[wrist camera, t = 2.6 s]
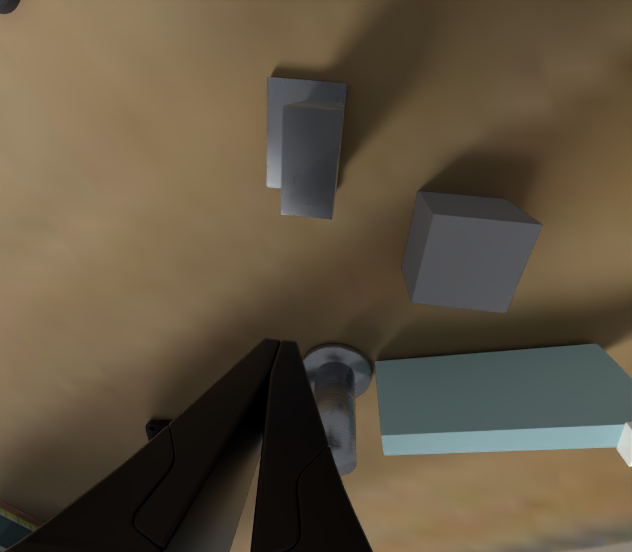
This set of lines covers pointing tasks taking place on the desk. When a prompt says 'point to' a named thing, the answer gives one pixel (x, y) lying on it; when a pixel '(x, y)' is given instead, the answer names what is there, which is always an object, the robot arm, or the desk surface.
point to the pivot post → (338, 395)
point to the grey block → (304, 143)
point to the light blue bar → (505, 402)
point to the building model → (14, 526)
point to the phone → (8, 6)
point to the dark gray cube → (466, 251)
